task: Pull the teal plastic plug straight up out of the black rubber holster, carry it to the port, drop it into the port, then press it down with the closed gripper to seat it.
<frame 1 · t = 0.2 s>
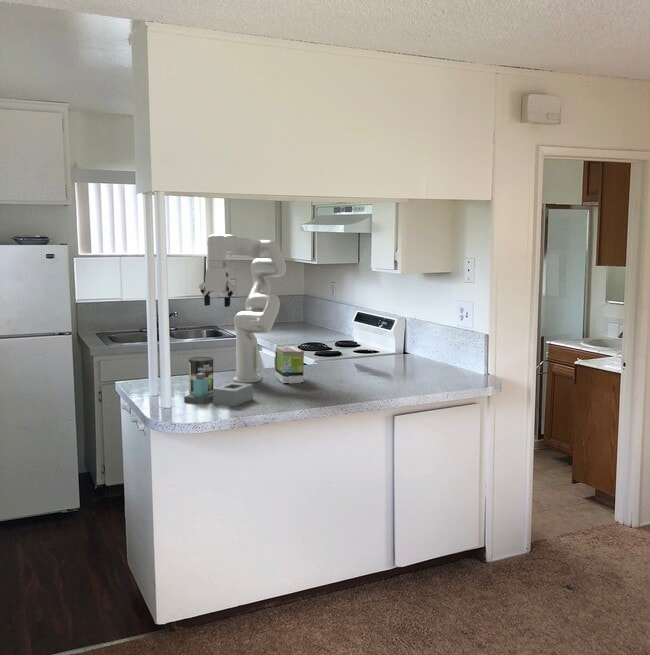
hand: (217, 306, 296), 36 cm above the counter, tool pointing down, fingers open, 9 cm apart
holster: (200, 400, 285), on the counter
coffee can: (201, 391, 301), on the counter
port: (233, 401, 284), on the counter
tea box: (289, 380, 325), on the counter
plug: (200, 387, 284), in the holster
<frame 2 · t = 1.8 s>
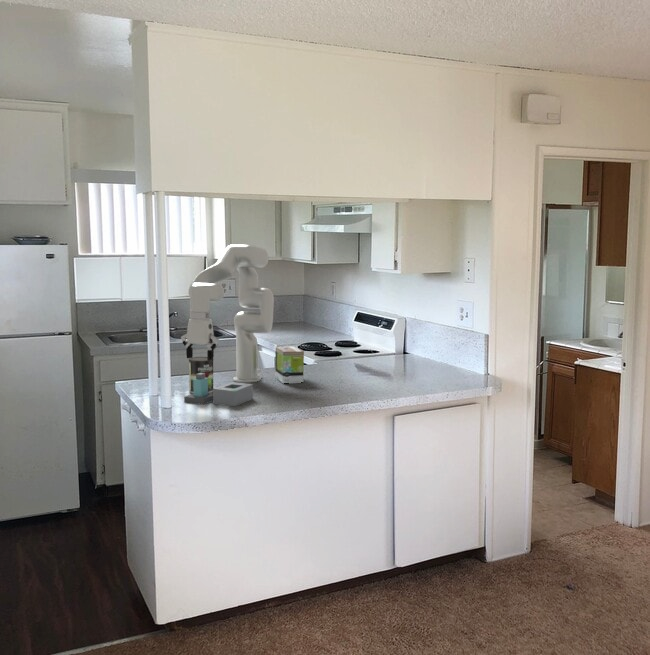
hand: (199, 358, 282), 17 cm above the counter, tool pointing down, fingers open, 9 cm apart
nothing on the counter moved.
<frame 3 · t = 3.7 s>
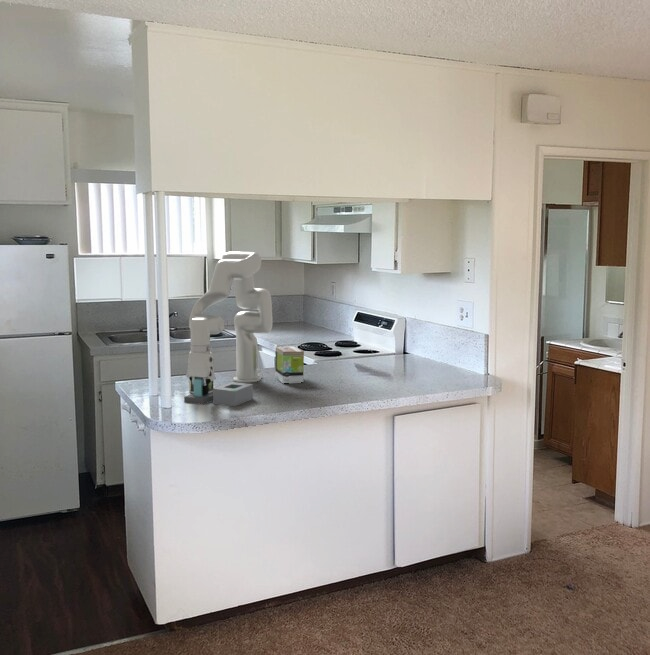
hand: (200, 393, 284), 3 cm above the counter, tool pointing down, fingers closed on plug, 3 cm apart
plug: (200, 387, 284), in the holster, touching gripper
everything else where it was.
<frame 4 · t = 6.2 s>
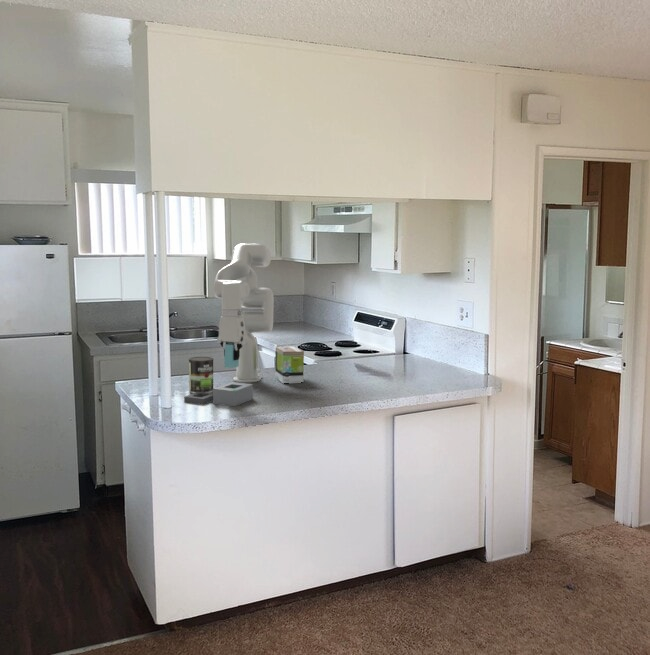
hand: (231, 358, 282), 17 cm above the counter, tool pointing down, fingers closed on plug, 3 cm apart
plug: (231, 353, 282), point 20 cm above the counter, touching gripper
everything else where it was.
when the fingers open (7 cm above the counter, at t = 8.9 s): plug drops 2 cm, resting on port.
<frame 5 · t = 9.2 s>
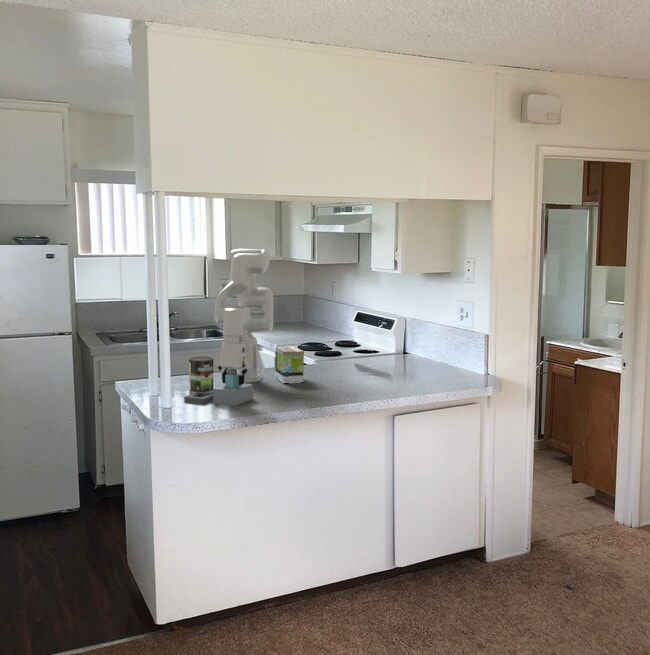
hand: (233, 383, 283), 7 cm above the counter, tool pointing down, fingers open, 6 cm apart
plug: (232, 382, 283), in the port, point 8 cm above the counter
everything else where it was.
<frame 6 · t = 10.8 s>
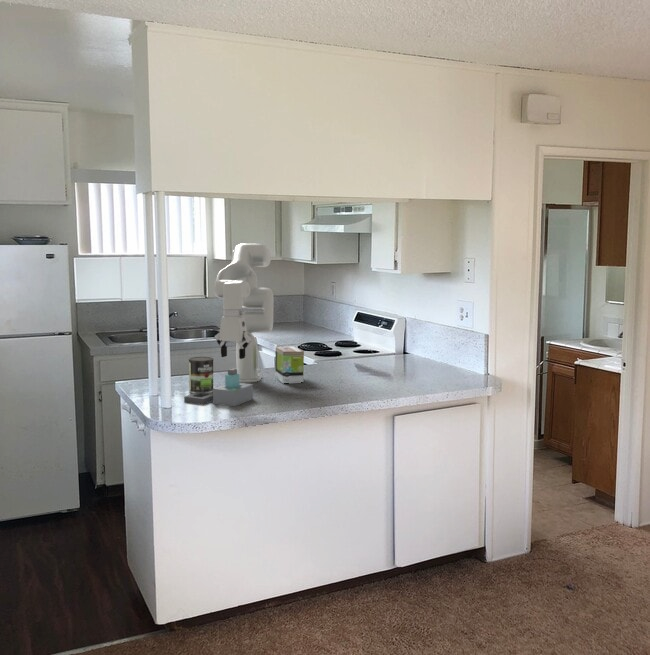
hand: (233, 357, 282), 18 cm above the counter, tool pointing down, fingers open, 7 cm apart
nothing on the counter moved.
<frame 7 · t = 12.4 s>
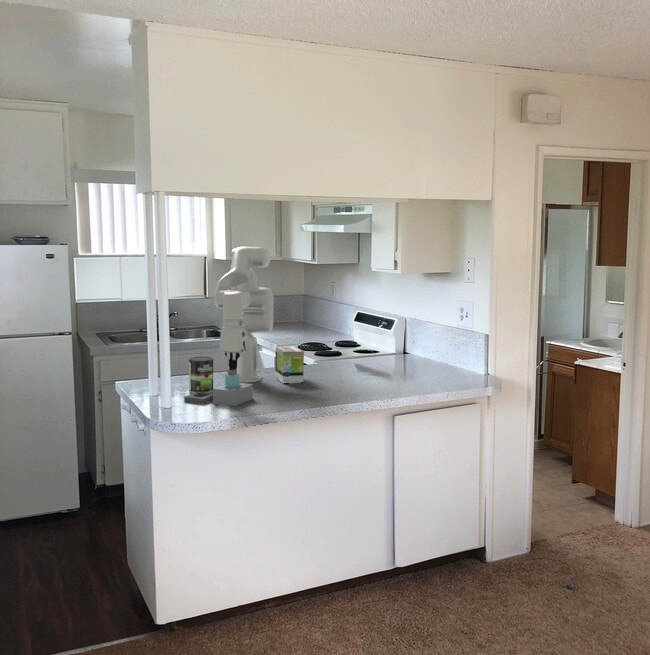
hand: (233, 369, 282), 13 cm above the counter, tool pointing down, fingers closed
plug: (232, 382, 283), in the port, point 8 cm above the counter, touching gripper
everything else where it was.
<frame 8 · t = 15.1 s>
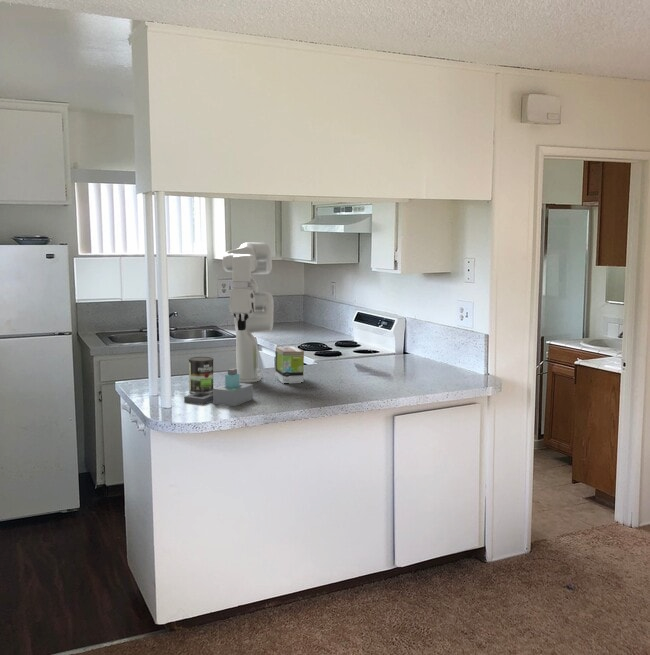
hand: (241, 329, 293), 27 cm above the counter, tool pointing down, fingers closed
plug: (232, 382, 283), in the port, point 8 cm above the counter
everything else where it was.
at the end: plug 0.4 cm off-centre on the port, point 7.5 cm above the port's base; plug tilted 0°; the gripper is holding nothing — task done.
